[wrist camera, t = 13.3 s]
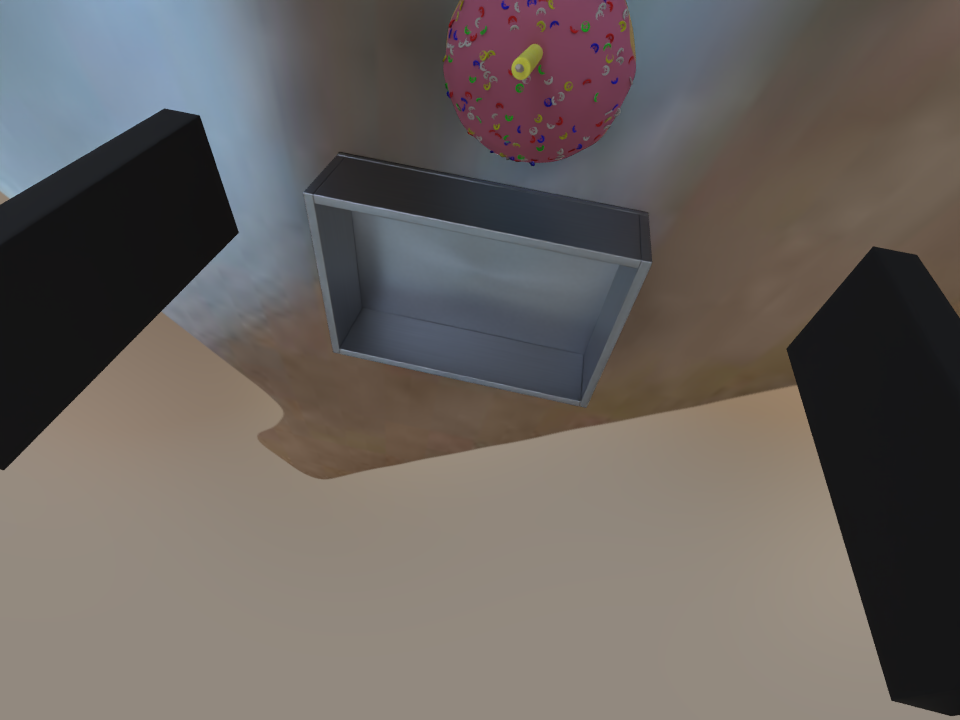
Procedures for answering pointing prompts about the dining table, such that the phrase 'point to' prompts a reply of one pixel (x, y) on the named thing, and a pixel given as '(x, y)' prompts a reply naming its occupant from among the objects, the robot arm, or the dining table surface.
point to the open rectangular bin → (474, 276)
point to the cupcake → (539, 73)
